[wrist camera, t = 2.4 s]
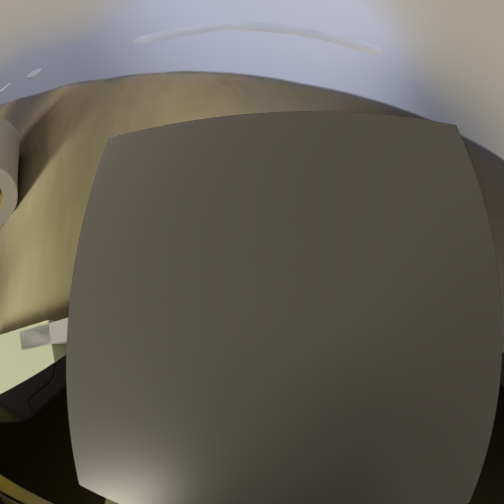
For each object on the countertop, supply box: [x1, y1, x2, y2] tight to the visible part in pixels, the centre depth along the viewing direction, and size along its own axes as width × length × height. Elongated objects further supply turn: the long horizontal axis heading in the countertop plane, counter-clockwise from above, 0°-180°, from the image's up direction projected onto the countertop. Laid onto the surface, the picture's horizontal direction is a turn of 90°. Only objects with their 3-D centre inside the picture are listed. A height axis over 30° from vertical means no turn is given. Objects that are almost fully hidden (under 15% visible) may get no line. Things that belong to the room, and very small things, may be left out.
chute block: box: [66, 111, 502, 504], centre depth 9 cm, size 6×6×14 cm
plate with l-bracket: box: [0, 318, 118, 504], centre depth 13 cm, size 20×24×2 cm
